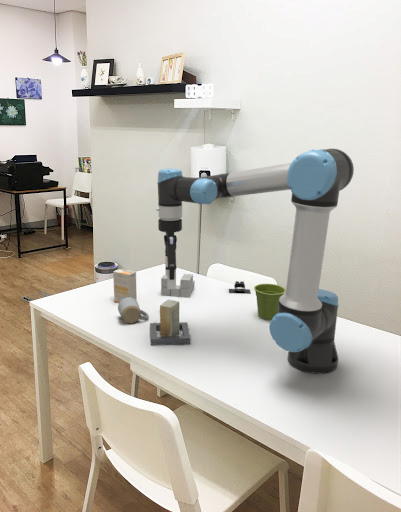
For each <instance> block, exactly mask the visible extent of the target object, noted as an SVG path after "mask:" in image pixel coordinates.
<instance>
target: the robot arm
mask: <svg viewBox="0 0 401 512" xmlns="http://www.w3.org/2000/svg"><path fill="white" fill-rule="evenodd" d="M354 168H355V167H354V163H353V161H352V159H351V157H350V156H349V155H348V154H347V153H346V152H345V151H343V150H341V149H338V148H326V149H311V150H308V151H305V152H303V153H300V154H299V155H297V156H296V157H295V158H294V159H293V160H292V162H289V163H288V162H287V163H284V164H283V163H282V164H276V165H270V166H269V165H268V166H265V167H258V168H251V169H246V170H245V169H244V170H239V171H234V172H229V173H228V172H227V173H219V174H216V175H206V176H200V177H187V176H183V171H182V169H178V168H163V169H160V170H158V174H157V175H158V176H157V183H156V184H157V193H158V195H157V197H158V198H157V200H158V202H157V204H158V205H157V206H158V207H156V212H158V225H157V227H158V231H160V232H162V233H165V235H163V243H164V246H165V248H164V250H165V251H164V253H165V254H164V255H165V259H164V261H165V267H164V269H165V275H166V276H167V289H176V285H177V268H178V267H177V254H176V253H177V252H176V251H177V242H178V241H177V240H178V237H177V235H175V233H180V232H182V230H183V219H182V217H183V202H184V203H191V204H198V205H210V204H212V203H213V202H214V201H215V200H219V199H227V198H234V197H239V196H248V195H255V194H256V195H257V194H265V193H274V192H281V191H288V190H289V191H291V200H290V202H291V203H292V205H293V206H294V207H295V216H294V224H293V233H292V239H291V246H290V255H289V256H290V257H289V264H288V272H287V278H286V279H287V280H286V287H285V289H286V292H285V293H284V295H282V296H281V297H280V299H279V305H278V313H277V314H276V315H275V316H274V317H273V319H272V320H270V322H269V326H268V327H269V334H270V336H271V338H272V340H273V341H274V342H275V344H276V345H277V346H278V347H279V348H281V349H282V350H284V351H287V352H288V353H287V361H288V363H289V364H290V365H291V366H292V367H293V368H295V369H297V370H299V371H301V372H302V371H303V372H306V373H310V374H326V373H331V372H333V371H335V370H336V369H337V367H338V366H339V365H338V364H339V355H338V351H337V347H336V342H335V335H336V327H337V326H336V325H337V319H338V310H339V296H338V295H337V294H336V293H334V292H333V291H330V290H326V289H321V288H320V284H321V283H320V282H321V276H322V268H323V264H324V263H323V261H324V256H325V251H326V250H325V249H326V243H327V242H326V241H327V234H328V228H329V223H330V222H329V220H330V216H331V215H330V214H331V212H332V211H333V210H335V209H336V208H337V207H338V203H339V198H340V197H339V196H340V191H342V190H344V189H345V188H346V187H347V186H348V185H349V184H350V183H351V181H352V179H353V177H354V171H355V170H354Z"/></svg>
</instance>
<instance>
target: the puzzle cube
mask: <svg viewBox="0 0 401 512" xmlns="http://www.w3.org/2000/svg"><path fill="white" fill-rule="evenodd" d="M160 282H161V283H160V284H161V285H160V292H161V293H160V295H161V297H174V298H186V299H190V298H191V296H192V294H193V292H194V290H195V285H196V284H195V283H196V282H195V280H194V274H191V273H190V274H189V273H184V274H183V275H182V277H181V278H180V281H179V282H180V283H179V285H177V284H176V289H167V276H166V275H162V276H161V278H160Z"/></svg>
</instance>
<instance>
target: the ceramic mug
mask: <svg viewBox="0 0 401 512" xmlns="http://www.w3.org/2000/svg"><path fill="white" fill-rule="evenodd" d="M117 304H118V305H117V310H118V314H119V315H120V317H121V320H122V321H124V322H125V323H127V324H135V323H136V322H138V321H139V320H142V321H147V320H148V319H149V314H148V313H147V311H144V310H142V309H141V307H140V305H139V303H138V300H137V301H136V300H135V299H134V298H131V297H127V298H124V299H122V300H121V301H120V302H119V303H117Z"/></svg>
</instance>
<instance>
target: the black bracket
mask: <svg viewBox="0 0 401 512" xmlns="http://www.w3.org/2000/svg"><path fill="white" fill-rule="evenodd" d="M233 286H234V288H228V293H229V294H247V295H250V294H252V293H251V289H248V288H247V289H246V285H245V281H244V280H243V281H239V280H237V281H236V280H235V283H234V285H233Z"/></svg>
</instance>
